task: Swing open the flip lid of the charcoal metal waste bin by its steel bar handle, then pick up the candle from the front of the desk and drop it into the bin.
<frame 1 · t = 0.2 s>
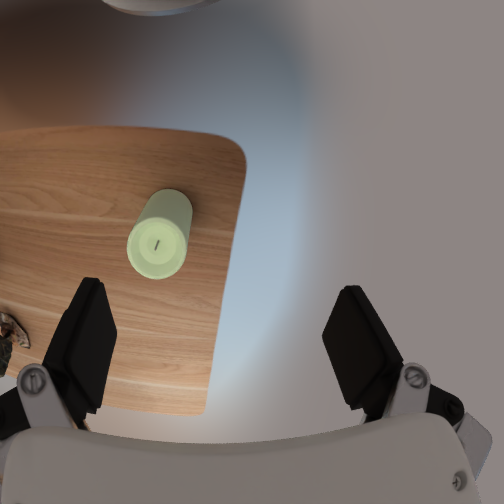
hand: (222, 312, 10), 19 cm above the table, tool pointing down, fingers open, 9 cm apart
candle: (169, 210, 27), on the table
camouflage figurine: (13, 324, 34), on the table
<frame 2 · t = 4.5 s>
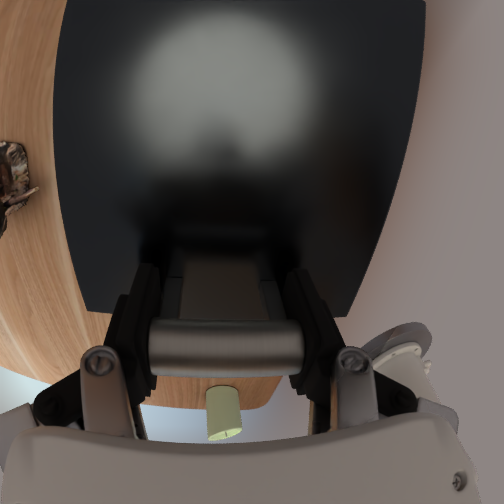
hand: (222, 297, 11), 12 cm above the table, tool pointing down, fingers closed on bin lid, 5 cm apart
candle: (221, 391, 38), on the table
bin lid: (239, 151, 7), point 13 cm above the table, hinge at 0.0°, touching gripper
camouflage figurine: (9, 178, 17), on the table
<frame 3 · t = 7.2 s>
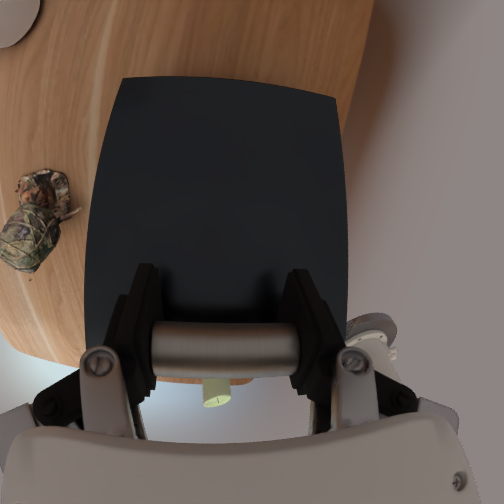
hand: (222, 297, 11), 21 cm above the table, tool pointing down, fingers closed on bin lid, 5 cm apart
candle: (215, 366, 48), on the table
bin lid: (225, 195, 11), point 18 cm above the table, hinge at 38.6°, touching gripper
camouflage figurine: (51, 197, 27), on the table
cup: (22, 19, 12), on the table
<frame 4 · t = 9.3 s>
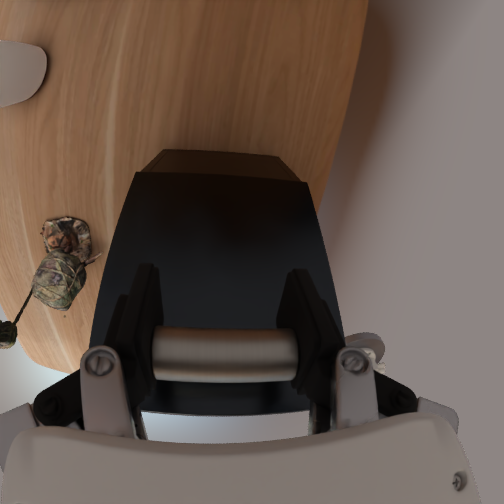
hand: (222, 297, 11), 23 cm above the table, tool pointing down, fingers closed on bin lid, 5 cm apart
bin lid: (221, 246, 14), point 20 cm above the table, hinge at 66.9°, touching gripper
bin: (216, 212, 34), on the table
camouflage figurine: (73, 240, 33), on the table
cup: (31, 73, 20), on the table
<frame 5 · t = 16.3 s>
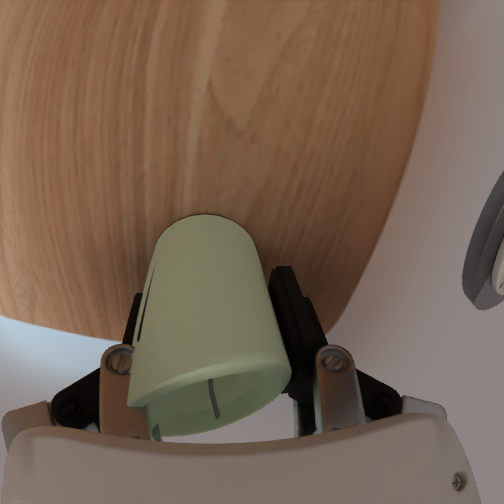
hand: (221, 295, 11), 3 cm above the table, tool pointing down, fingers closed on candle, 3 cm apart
candle: (205, 258, 13), on the table, touching gripper
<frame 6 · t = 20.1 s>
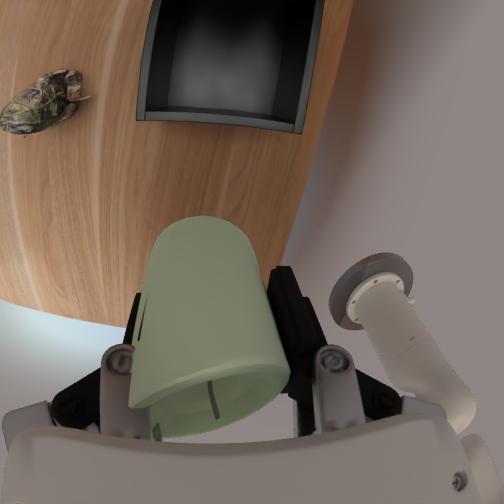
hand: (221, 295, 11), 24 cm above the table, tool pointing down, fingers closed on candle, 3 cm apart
candle: (202, 259, 13), point 22 cm above the table, touching gripper
bin: (227, 53, 25), on the table
camouflage figurine: (61, 98, 24), on the table
when the fingers open (12 cm above the table, at t = 24.3 s): candle drops 6 cm, resting on bin.
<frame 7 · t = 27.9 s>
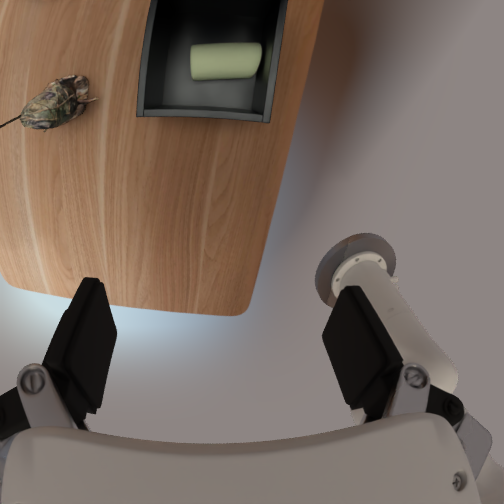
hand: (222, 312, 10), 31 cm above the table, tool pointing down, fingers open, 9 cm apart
candle: (190, 63, 27), point 3 cm above the table, touching bin
bin: (212, 58, 29), on the table
camouflage figurine: (71, 99, 28), on the table
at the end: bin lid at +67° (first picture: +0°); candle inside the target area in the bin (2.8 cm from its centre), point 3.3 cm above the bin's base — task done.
